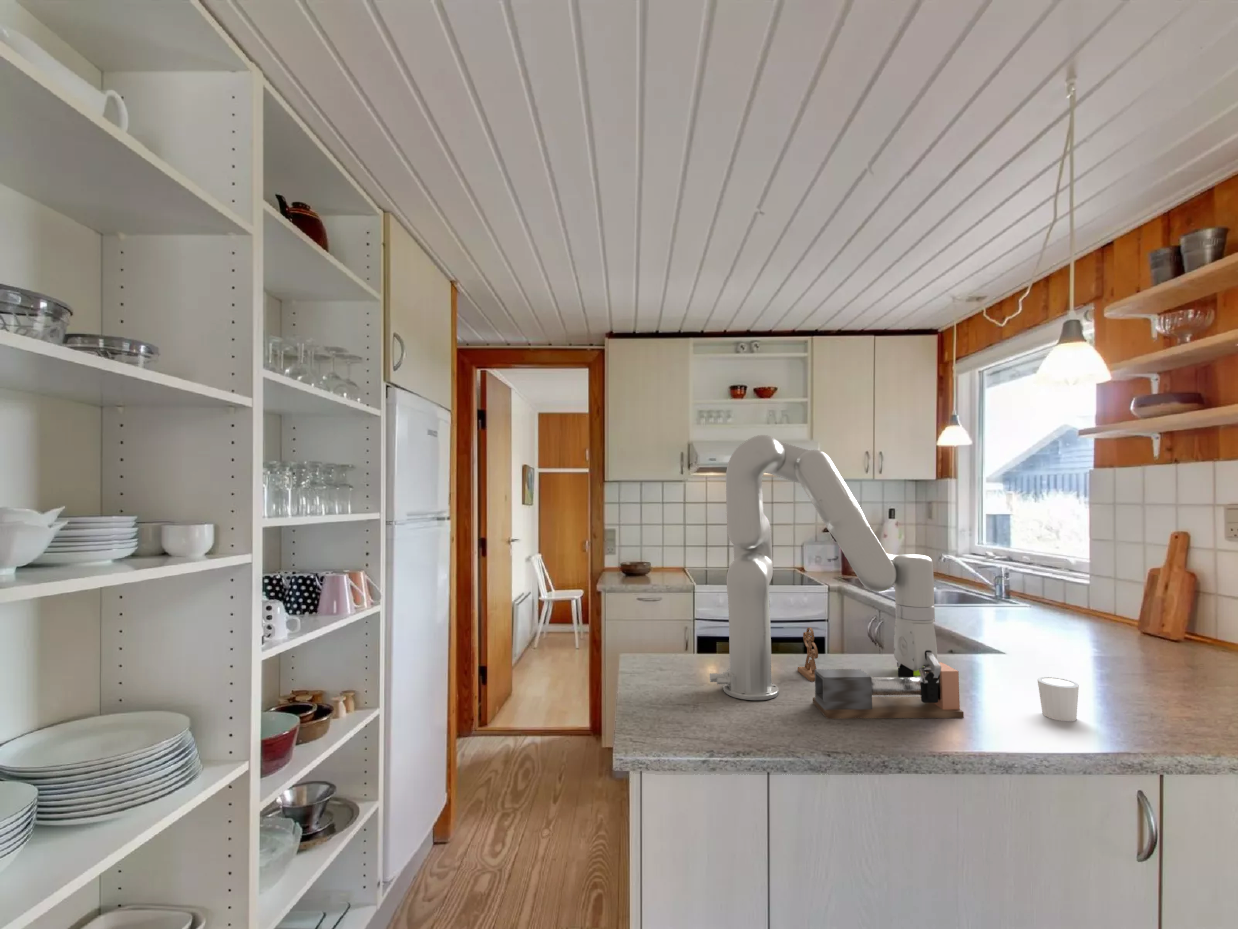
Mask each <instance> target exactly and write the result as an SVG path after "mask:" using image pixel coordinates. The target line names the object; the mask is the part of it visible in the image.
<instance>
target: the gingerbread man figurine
mask: <svg viewBox="0 0 1238 929" xmlns="http://www.w3.org/2000/svg"><path fill="white" fill-rule="evenodd" d="M802 635H803V636H802V637H803V638H802V639H803V643H804V646H805V647H806V659H805V663H804V666H797V672H798V673H800V675H802V676H803V677H804V678H806V679H807V680H808V681H809V682H815V669H817V665H816V661H815V659H819V650H818V647H817V644H816V643H815V642H814V641H815V633H814V629H813V627H807V628H806V631H804V632H803V633H802ZM810 658H811V659H810Z"/></svg>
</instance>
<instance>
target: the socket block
mask: <svg viewBox="0 0 1238 929" xmlns="http://www.w3.org/2000/svg"><path fill="white" fill-rule="evenodd" d="M938 662H939V664H940V665H941V671H940V695H938V702H937V703H934V704H935V705H937V706H939V707H940V708H942V709H960V710H961V707H960V704H961V701H960V680H959V678H960V677H959V670H957V669H955V668H953V667H952V666H950V665H948V664H946V663H944V662H940V661H938ZM925 673H929V672H925Z"/></svg>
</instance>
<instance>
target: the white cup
mask: <svg viewBox="0 0 1238 929" xmlns="http://www.w3.org/2000/svg"><path fill="white" fill-rule="evenodd" d="M1037 685H1038V692H1039V700H1040V706H1041V712H1042V715H1043V716H1045V717H1046V718H1049V719H1052V720H1055V721H1060V722H1061V721H1062V722H1075V721H1077V716H1078V702H1079V688H1080V686H1079V685H1080V684H1078V683H1077V682H1074V681H1072V680H1068V679H1065V678H1059V677H1052V676H1051V677H1049V676H1048V677H1047V676H1044V677H1038V678H1037Z"/></svg>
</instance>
